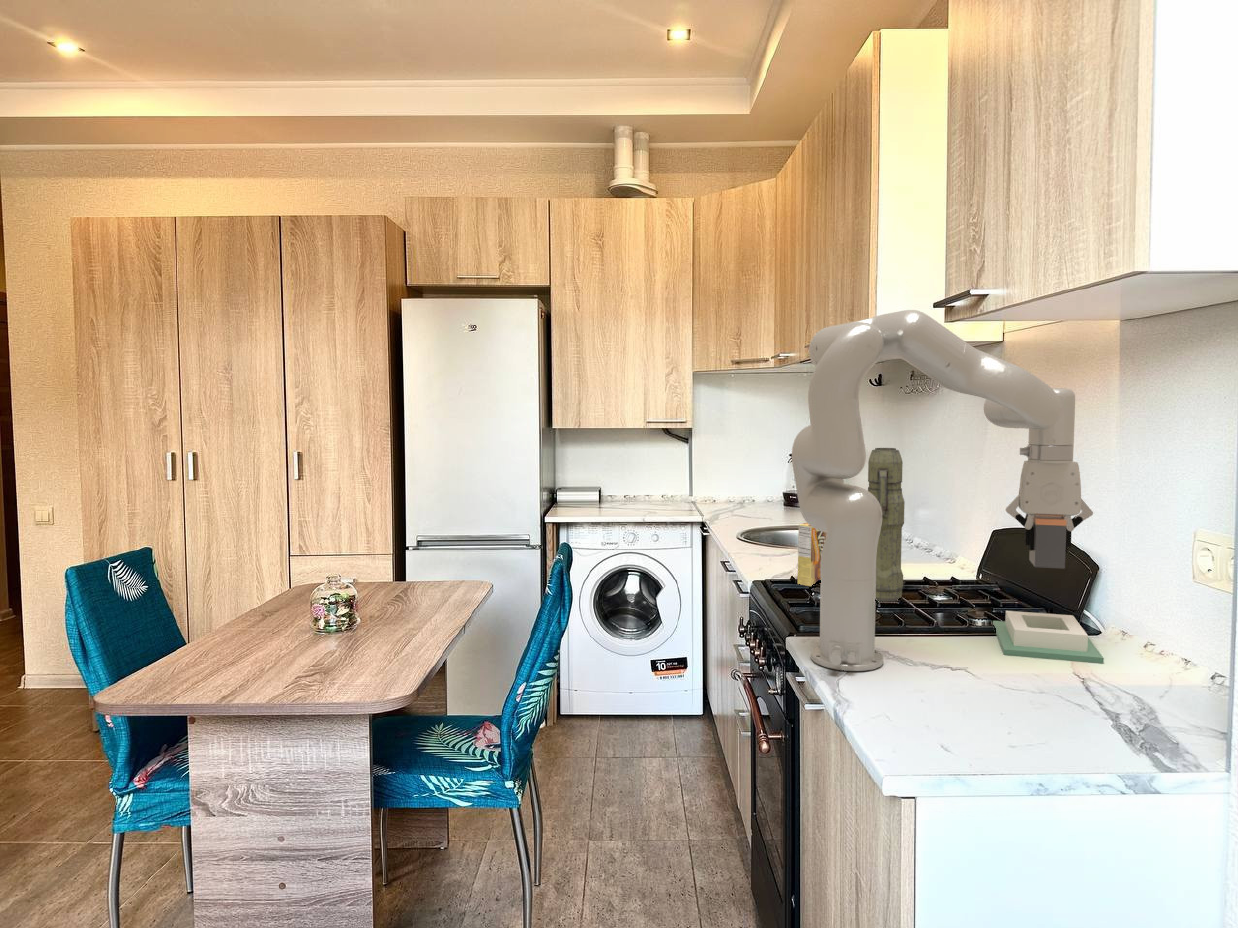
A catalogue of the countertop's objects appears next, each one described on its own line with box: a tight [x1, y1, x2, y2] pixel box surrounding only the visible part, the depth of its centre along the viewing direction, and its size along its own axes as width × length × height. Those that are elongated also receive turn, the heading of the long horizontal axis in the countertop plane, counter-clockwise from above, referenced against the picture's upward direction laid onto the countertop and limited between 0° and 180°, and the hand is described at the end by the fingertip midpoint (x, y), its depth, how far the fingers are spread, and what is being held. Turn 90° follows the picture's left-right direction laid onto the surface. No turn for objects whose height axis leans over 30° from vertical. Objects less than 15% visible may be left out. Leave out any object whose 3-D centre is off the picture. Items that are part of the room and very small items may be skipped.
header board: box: [992, 610, 1105, 664], centre depth 156 cm, size 20×16×4 cm
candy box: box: [797, 522, 827, 587], centre depth 207 cm, size 9×4×15 cm, turn 137°
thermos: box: [867, 447, 905, 602], centre depth 191 cm, size 9×12×35 cm
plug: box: [1028, 515, 1067, 569], centre depth 155 cm, size 7×5×9 cm
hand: (1047, 549), depth 155 cm, fingers closed on plug, 5 cm apart
